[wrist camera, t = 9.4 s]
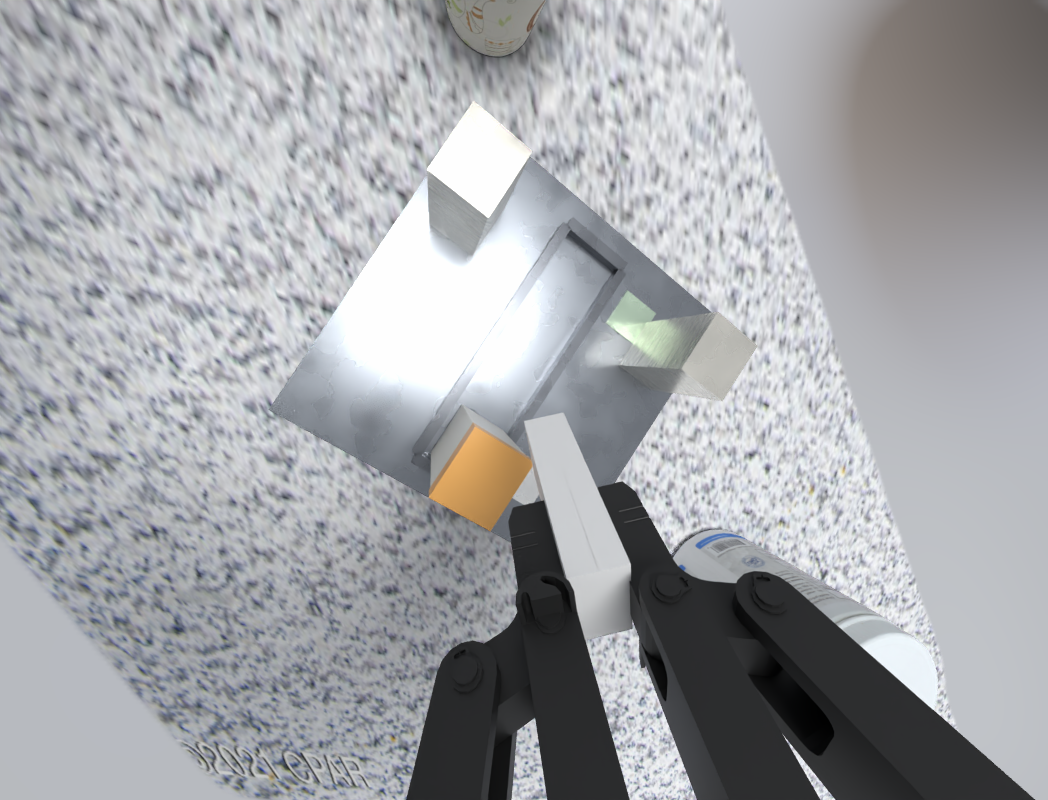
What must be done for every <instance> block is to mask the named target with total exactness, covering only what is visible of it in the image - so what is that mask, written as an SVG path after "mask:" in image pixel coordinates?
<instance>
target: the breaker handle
mask: <svg viewBox="0 0 1048 800" xmlns="http://www.w3.org/2000/svg"><path fill="white" fill-rule="evenodd" d="M532 467H533V466H532V460H531V459H530V458H529V457H528V456H526V455H525V454H524V453H523V452H522V450H521V449H520V448H519V447H518V446H517V445H516V444H515V443H514V442H513V441H512V440H511V438H510V437H509V436H508V435H507V434H506V433H505V432H504V431H503V430H502V429H501V428H499V427H497V426H496V425H494V424H493V423H491V422H489V421H488V420H486V419H485V418H483V417H482V416H480V415H478V414H477V413H475V412H474V411H472V410H470V409H469V408H467V407H466V406H464V405H461V407H460V408H459V410H458V412H457V413H456V415H455V416H454V418H453V419H452V421H451V422H450V424H449V425H448V427H447V428H446V430H445V431H444V433H443V434H442V436H441V437H440V439H439V440H438V442H437V443H436V445H435V446H434V448H433V449H432V451H431V481H430V488H429V498H430V499H432V500H434V501H436V502H438V503H439V504H441V505H443V506H445V507H447V508H449V509H450V510H452V511H454V512H456V513H458V514H460V515H461V516H463V517H465V518H467V519H469V520H470V521H472V522H474V523H476V524H478V525H480V526H481V527H483V528H485V529H487V530H489V531H491V530H492V528H493V527H494V525H495V524H496V522H497V520H498V519H499V517H500V516H501V514H502V513H503V511H504V510H505V508H506V507H507V505H508V504H509V502H510V500H511V499H512V497H513V496H514V494H515V493H516V491H517V490H518V488H519V487H520V485H521V484H522V482H523V480H524V479H525V477H526V476H527V474H528V473H529V471H530V470H531V468H532Z"/></svg>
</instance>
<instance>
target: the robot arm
mask: <svg viewBox="0 0 1048 800" xmlns="http://www.w3.org/2000/svg"><path fill="white" fill-rule="evenodd" d="M524 424H525V429H526V434H527V440H528V445H529V450H530V455H531V460H532V466H533V471H534V476H535V480H536V484H537V488H538V491H539V495H540V499H541V501H539V502H534V503H530V504H525V505H521V506H517V507H513V508H512V511H511V515H510V518H509V521H508V524H509V531H510V537H511V544H512V550H513V558H514V564H515V571H516V578H517V584H518V591H517V593H516V608H517V611H518V612H517V614H516V616H515V618H514V620H513V622H512V623H511V624H510V625H509V627H508V628H506V629H505V630H504V631H503V632H501V633H500V634H499V635H497V636H495V637H494V638H492V639H491V640H489V641H488V642H486V643H484V644H483V643H480V642H476V641H469V642H464V643H461V644H459V645H457V646H456V647H454V648H453V649H451V650H450V651H449V653H448V654H447V655H446V656H445V657H444V659H443V660H442V662H441V665H440V667H439V670H438V672H437V676H436V680H435V684H434V688H433V692H432V696H431V700H430V704H429V709H428V713H427V717H426V721H425V725H424V729H423V733H422V737H421V741H420V746H419V750H418V754H417V758H416V762H415V766H414V770H413V774H412V778H411V783H410V787H409V791H408V795H407V799H406V800H511V798H512V786H513V774H514V761H515V749H516V737H517V730H519V729H520V728H521V727H523V726H524V725H525V724H527V723H528V722H529V721H531V720H532V719H533V718H535V719H536V726H537V733H538V740H539V746H540V753H541V760H542V767H543V774H544V780H545V787H546V794H547V800H629V796H628V792H627V789H626V785H625V782H624V778H623V774H622V771H621V767H620V764H619V760H618V756H617V753H616V749H615V746H614V742H613V738H612V735H611V731H610V728H609V724H608V720H607V717H606V713H605V710H604V706H603V702H602V699H601V695H600V692H599V688H598V684H597V681H596V677H595V674H594V670H593V666H592V663H591V659H590V656H589V652H588V648H587V645H586V641H585V640H589V639H593V638H597V637H601V636H605V635H609V634H613V633H617V632H621V631H625V630H630V629H632V620H633V623H634V625H635V628H636V630H637V633H638V635H639V658H640V664H641V668H644V667H645V665H646V667H647V670H648V672H649V675H650V677H651V680H652V683H653V685H654V688H655V691H656V693H657V696H658V698H659V701H660V704H661V706H662V709H663V712H664V714H665V717H666V719H667V722H668V725H669V727H670V730H671V733H672V735H673V738H674V740H675V743H676V746H677V748H678V751H679V754H680V756H681V759H682V761H683V764H684V767H685V769H686V772H687V775H688V777H689V780H690V782H691V785H692V788H693V790H694V793H695V796H696V798H697V800H820V798H819V797H818V795H817V793H816V792H815V790H814V788H813V786H812V785H811V783H810V781H809V779H808V778H807V776H806V774H805V772H804V771H803V769H802V767H801V766H800V764H799V762H798V760H797V759H796V757H795V755H794V753H793V752H792V750H791V748H790V746H789V745H788V743H787V741H786V740H785V738H786V739H787V740H788V741H789V742H790V744H791V745H792V746H793V747H794V749H795V750H796V751H797V752H798V754H799V755H800V756H801V757H802V759H803V760H804V761H805V762H806V764H807V765H808V766H809V767H810V769H811V770H812V771H813V772H814V773H815V775H816V776H817V777H818V778H819V780H820V781H821V782H822V783H823V785H824V786H825V787H826V788H827V790H828V791H829V792H830V793H831V795H832V796H833V797H834V798H835V800H1035V799H1033V798H1032V797H1031V796H1030V795H1029V794H1028V793H1027V792H1026V791H1024V790H1023V789H1022V788H1021V787H1020V786H1019V785H1018V784H1017V783H1015V782H1014V781H1013V780H1012V779H1011V778H1010V777H1008V775H1006V774H1005V773H1004V772H1003V771H1002V770H1001V769H1000V768H998V767H997V766H996V765H995V764H994V763H993V762H992V761H991V760H989V759H988V758H987V757H986V756H985V755H984V754H983V753H981V752H980V751H979V750H978V749H977V748H976V747H975V746H974V745H972V744H971V743H970V742H969V741H968V740H967V739H966V738H964V737H963V736H962V735H961V734H960V733H959V732H958V731H957V730H955V729H954V728H953V727H952V726H951V725H950V724H949V723H947V722H946V721H945V720H944V719H943V718H942V717H941V716H939V715H938V714H937V713H936V712H935V711H934V710H933V709H932V708H930V707H929V706H928V705H927V704H926V703H925V702H924V701H922V700H921V699H920V698H919V697H918V696H917V695H916V694H915V693H913V692H912V691H911V690H910V689H909V688H908V687H907V686H905V685H904V684H903V683H902V682H901V681H900V680H899V679H898V678H896V677H895V676H894V675H893V674H892V673H891V672H890V671H888V670H887V669H886V668H885V667H884V666H883V665H882V664H881V663H879V662H878V661H877V660H876V659H875V658H874V657H873V656H871V655H870V654H869V653H868V652H867V651H866V650H865V649H864V648H862V647H861V646H860V645H859V644H858V643H857V642H856V641H854V640H853V639H852V638H851V637H850V636H849V635H848V634H846V633H845V632H844V631H843V630H842V629H841V628H840V627H839V626H837V625H836V624H835V623H834V622H833V621H832V620H831V619H829V618H828V617H827V616H826V615H825V614H824V613H823V612H822V611H820V610H819V609H818V608H817V607H816V606H815V605H814V604H812V603H811V602H810V601H809V600H808V599H807V598H806V597H805V596H803V595H802V594H801V593H800V592H799V591H798V590H797V589H795V588H794V587H793V586H792V585H791V584H789V583H788V582H786V581H785V580H784V579H782V578H781V577H779V576H776V575H774V574H771V573H768V572H762V571H752V572H748V573H745V574H743V575H742V576H741V577H740V578H739V579H738V580H737V583H727V582H714V581H707V580H701V579H699V578H696V577H693V576H691V575H690V574H688V573H686V572H685V571H683V570H682V569H681V568H680V567H679V566H678V565H677V564H676V562H675V561H674V560H673V558H672V556H671V555H670V553H669V551H668V549H667V548H666V546H665V544H664V542H663V540H662V539H661V537H660V535H659V533H658V531H657V530H656V528H655V526H654V524H653V522H652V521H651V519H650V518H649V515H648V514H647V512H646V510H645V508H644V507H643V505H642V503H641V501H640V499H639V497H638V496H637V494H636V492H635V491H634V490H633V489H631V488H630V487H629V486H628V485H626V484H625V483H624V482H618V483H613V484H609V485H605V486H600V487H596V485H595V482H594V480H593V478H592V476H591V473H590V471H589V469H588V467H587V464H586V462H585V460H584V458H583V455H582V453H581V451H580V449H579V446H578V444H577V442H576V440H575V437H574V435H573V433H572V431H571V428H570V426H569V424H568V422H567V419H566V417H565V415H564V413H558V414H554V415H549V416H545V417H540V418H535V419H531V420H526V421H524ZM783 735H784V736H785V738H784V736H783Z"/></svg>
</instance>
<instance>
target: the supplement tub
mask: <svg viewBox="0 0 1048 800" xmlns="http://www.w3.org/2000/svg"><path fill="white" fill-rule="evenodd" d="M673 560H674V561H675V562H676V564H677V565H678V566H679V567H680V568H681V569H682V570H683V571H685V572H686V573H688V574H690V575H691V576H693V577H696V578H699V579H701V580H707V581H714V582H727V583H737V580H738V579H739V578H740V577H741V576H742V575H743V574H745V573H748V572H752V571H762V572H768V573H771V574H774V575H776V576H779V577H781V578H782V579H784V580H785V581H786V582H788V583H789V584H791V585H792V586H793V587H794V588H795V589H797V590H798V591H799V592H800V593H801V594H802V595H803V596H805V597H806V598H807V599H808V600H809V601H810V602H811V603H812V604H814V605H815V606H816V607H817V608H818V609H819V610H820V611H822V612H823V613H824V614H825V615H826V616H827V617H828V618H829V619H831V620H832V621H833V622H834V623H835V624H836V625H837V626H839V627H840V628H841V629H842V630H843V631H844V632H845V633H846V634H848V635H849V636H850V637H851V638H852V639H853V640H854V641H856V642H857V643H858V644H859V645H860V646H861V647H862V648H864V649H865V650H866V651H867V652H868V653H869V654H870V655H871V656H873V657H874V658H875V659H876V660H877V661H878V662H879V663H881V664H882V665H883V666H884V667H885V668H886V669H887V670H888V671H890V672H891V673H892V674H893V675H894V676H895V677H896V678H898V679H899V680H900V681H901V682H902V683H903V684H904V685H905V686H907V687H908V688H909V689H910V690H911V691H912V692H913V693H915V694H916V695H917V696H918V697H919V698H920V699H921V700H922V701H924V702H925V703H926V704H927V705H928V706H929V707H930V708H932V709H933V710H934V709H935V705H936V699H937V691H938V678H937V671H936V667H935V664H934V661H933V659H932V656H931V654H930V652H929V651H928V650H927V648H926V647H925V646H924V645H923V644H922V643H921V642H920V641H919V640H918V639H916V638H915V637H913V636H911V635H910V634H908V633H907V632H905V631H903V630H901V629H900V628H899V627H898V626H897V625H895V624H894V623H893V622H891V621H890V620H888V619H886V618H884V617H883V616H881V615H879V614H877V613H876V612H874V611H872V610H870V609H869V608H867V607H865V606H864V605H862V604H860V603H858V602H857V601H855V600H853V599H851V598H849V597H848V596H846V595H844V594H842V593H841V592H839V591H837V590H835V589H833V588H832V587H830V586H828V585H826V584H825V583H823V582H821V581H819V580H818V579H816V578H814V577H812V576H810V575H809V574H807V573H805V572H803V571H802V570H800V569H798V568H796V567H794V566H793V565H791V564H789V563H787V562H786V561H784V560H782V559H780V558H779V557H777V556H775V555H773V554H771V553H770V552H768V551H766V550H764V549H763V548H761V547H759V546H757V545H755V544H754V543H752V542H750V541H748V540H747V539H745V538H743V537H741V536H739V535H738V534H736V533H733V532H731V531H726V530H717V529H716V530H708V531H704V532H702V533H699V534H697V535H695V536H693V537H692V538H690V539H689V540H688V541H686V542H685V543H684V544H683V545H682V546H681V547H680V548H679V550H678V551H677V552H676V554H675V555H674V557H673Z"/></svg>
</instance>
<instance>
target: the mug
mask: <svg viewBox="0 0 1048 800" xmlns="http://www.w3.org/2000/svg"><path fill="white" fill-rule="evenodd" d="M445 2H446V8H447V12H448V16H449V19H450V21H451V24H452V26H453V28H454V29H455V31H456V32H457V34H458V35H459V37H460V38H461V39H462V40H463V41H464V42H465V43H466V44H467V45H468V46H470V47H471V48H472V49H474V50H476V51H477V52H479V53H482V54H485V55H488V56H505V55H508V54H511V53H513V52H515V51H516V50H517V49H519V48H520V47H521V46H522V45H523V44H524V42H525V41H526V39H527V38H528V36H529V34H530V32H531V30H532V28H533V26H534V24H535V22H536V20H537V18H538V16H539V14H540V12H541V10H542V8H543V6H544V4H545V2H546V0H445Z"/></svg>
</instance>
